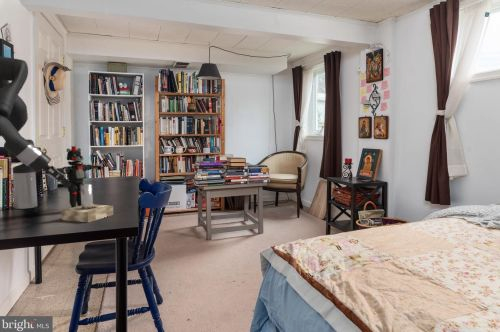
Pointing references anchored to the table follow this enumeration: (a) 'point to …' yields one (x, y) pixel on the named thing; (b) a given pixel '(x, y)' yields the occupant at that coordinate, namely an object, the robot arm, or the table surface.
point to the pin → (86, 196)
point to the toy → (76, 174)
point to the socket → (87, 213)
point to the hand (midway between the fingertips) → (68, 184)
